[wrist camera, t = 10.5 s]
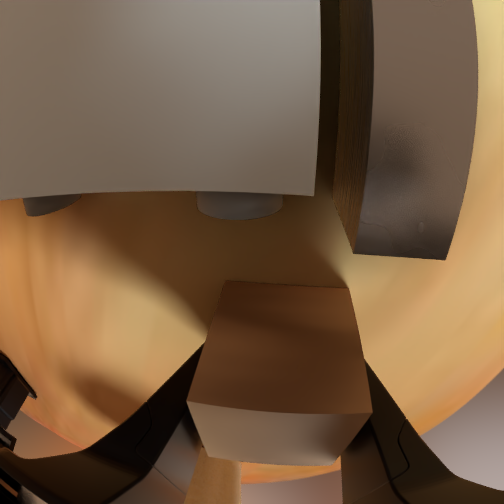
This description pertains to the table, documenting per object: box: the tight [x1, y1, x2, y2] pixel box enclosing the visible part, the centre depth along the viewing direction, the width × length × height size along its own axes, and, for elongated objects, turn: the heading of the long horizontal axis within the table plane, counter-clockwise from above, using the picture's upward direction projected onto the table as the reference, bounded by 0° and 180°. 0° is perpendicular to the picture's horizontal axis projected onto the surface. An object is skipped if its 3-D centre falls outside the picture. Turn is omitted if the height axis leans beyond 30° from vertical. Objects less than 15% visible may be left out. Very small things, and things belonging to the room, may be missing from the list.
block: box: [186, 281, 373, 466], centre depth 8 cm, size 4×4×4 cm
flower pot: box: [184, 447, 241, 504], centre depth 15 cm, size 9×9×9 cm
